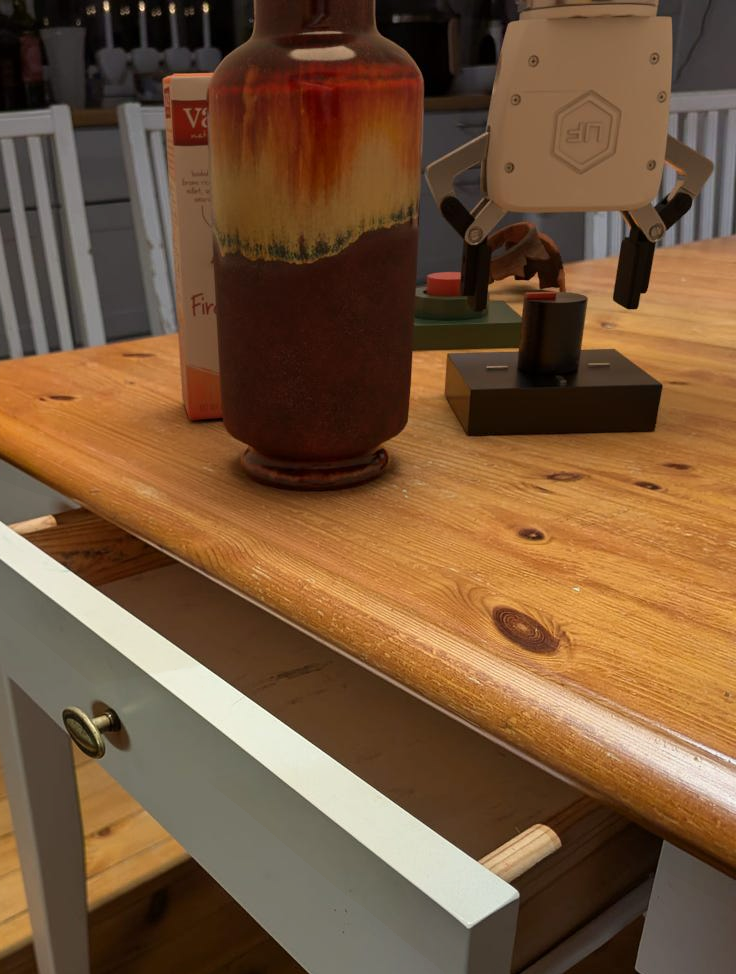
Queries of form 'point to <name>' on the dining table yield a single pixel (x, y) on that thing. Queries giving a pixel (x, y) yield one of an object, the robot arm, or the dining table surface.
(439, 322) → the block
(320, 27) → the vase
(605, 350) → the dial console
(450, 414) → the dining table surface
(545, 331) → the browning dial
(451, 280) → the button
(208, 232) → the cracker box
